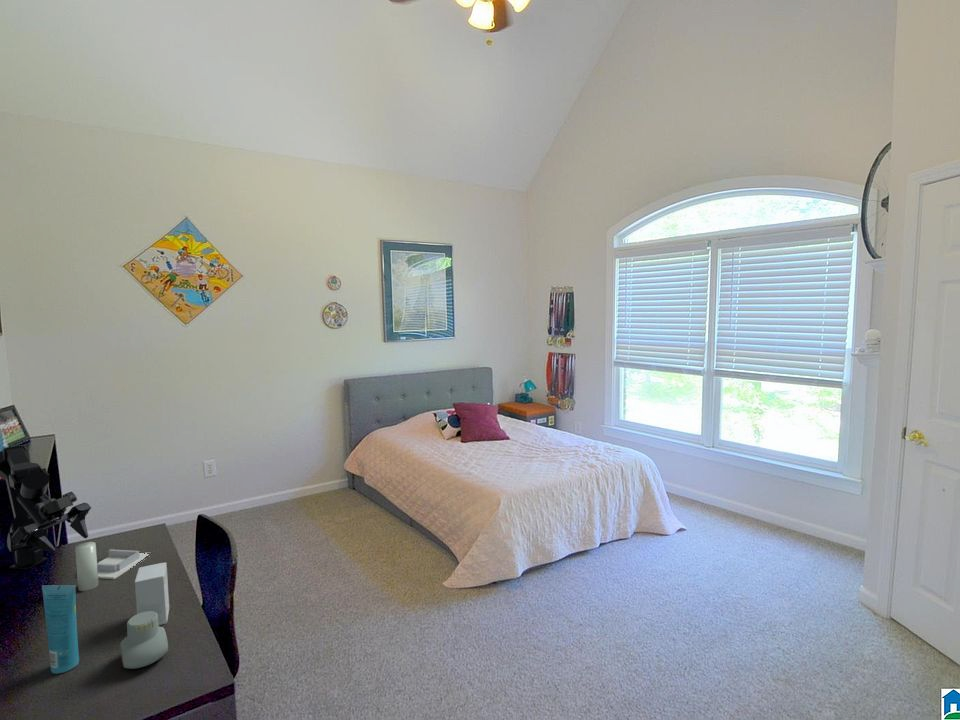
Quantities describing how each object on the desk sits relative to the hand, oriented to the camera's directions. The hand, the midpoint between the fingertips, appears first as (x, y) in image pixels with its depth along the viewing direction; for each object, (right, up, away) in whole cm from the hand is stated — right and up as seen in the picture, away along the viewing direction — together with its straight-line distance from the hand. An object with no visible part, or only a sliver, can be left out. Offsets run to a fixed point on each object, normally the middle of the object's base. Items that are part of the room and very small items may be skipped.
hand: (71, 544), depth 142 cm
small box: (+34, -14, -14) cm, 39 cm away
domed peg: (+5, -12, 0) cm, 13 cm away
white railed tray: (+4, -11, +12) cm, 17 cm away
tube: (+25, -16, -32) cm, 43 cm away
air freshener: (+41, -16, -29) cm, 53 cm away
